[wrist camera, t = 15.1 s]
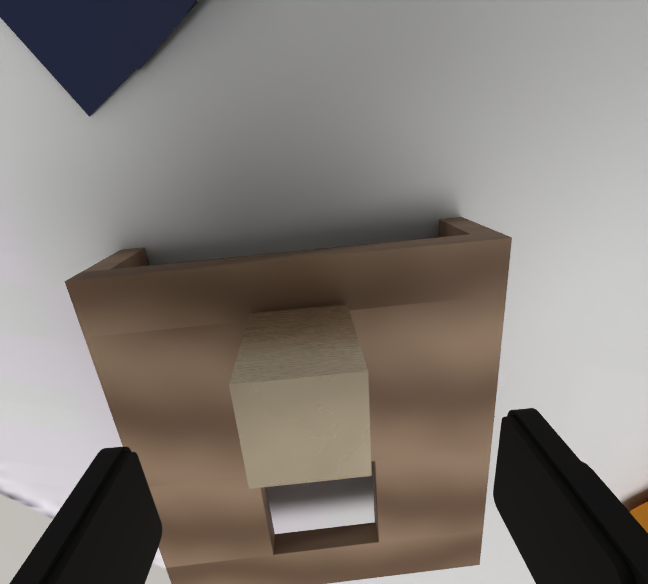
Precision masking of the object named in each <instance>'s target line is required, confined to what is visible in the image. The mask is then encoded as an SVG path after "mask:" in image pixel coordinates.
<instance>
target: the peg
mask: <svg viewBox="0 0 648 584" xmlns="http://www.w3.org/2000/svg"><path fill="white" fill-rule="evenodd" d="M229 387H230V393H231V398H232V403H233V408H234V413H235V419H236V424H237V429H238V434H239V439H240V445H241V450H242V455H243V460H244V465H245V471H246V476H247V481H248V486H249V489H252V488H262V487H271V486H281V485H290V484H300V483H309V482H319V481H328V480H338V479H347V478H357V477H366V476H372V471H371V441H370V411H369V381H368V369H367V366H366V363H365V359H364V356H363V353H362V350H361V347H360V344H359V340H358V337H357V334H356V331H355V328H354V324H353V321H352V318H351V315H350V312H349V308H348V305H336V306H325V307H314V308H303V309H292V310H281V311H269V312H258V313H250V316H249V319H248V323H247V326H246V329H245V333H244V336H243V339H242V343H241V346H240V349H239V353H238V356H237V359H236V363H235V366H234V369H233V373H232V376H231V380H230V383H229Z"/></svg>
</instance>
